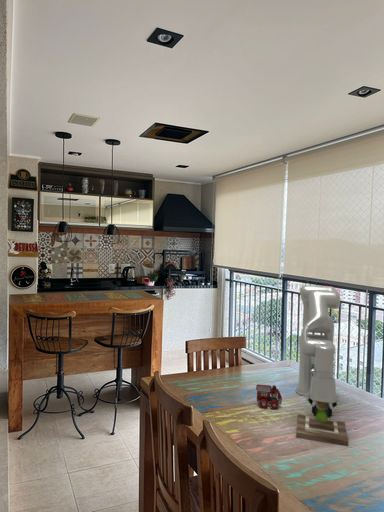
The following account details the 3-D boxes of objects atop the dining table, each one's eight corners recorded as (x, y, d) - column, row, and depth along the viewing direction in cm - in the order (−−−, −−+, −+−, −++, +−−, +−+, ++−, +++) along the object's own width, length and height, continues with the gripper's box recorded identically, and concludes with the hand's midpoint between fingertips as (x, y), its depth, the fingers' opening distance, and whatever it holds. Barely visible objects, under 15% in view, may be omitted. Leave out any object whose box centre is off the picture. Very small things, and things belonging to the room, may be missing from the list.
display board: (297, 418, 176) (297, 412, 175) (344, 426, 170) (344, 419, 170) (295, 437, 158) (296, 429, 158) (348, 446, 152) (348, 438, 152)
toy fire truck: (282, 410, 184) (283, 388, 184) (256, 408, 185) (256, 386, 185) (280, 404, 191) (281, 383, 191) (255, 402, 192) (256, 381, 192)
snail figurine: (310, 419, 166) (312, 391, 166) (324, 419, 167) (326, 392, 167) (315, 425, 161) (317, 396, 161) (330, 425, 162) (332, 397, 161)
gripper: (302, 373, 162) (300, 416, 163) (346, 379, 157) (343, 423, 158) (302, 368, 169) (301, 409, 170) (344, 373, 164) (342, 415, 165)
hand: (321, 415), depth 164 cm, fingers closed on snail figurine, 5 cm apart
